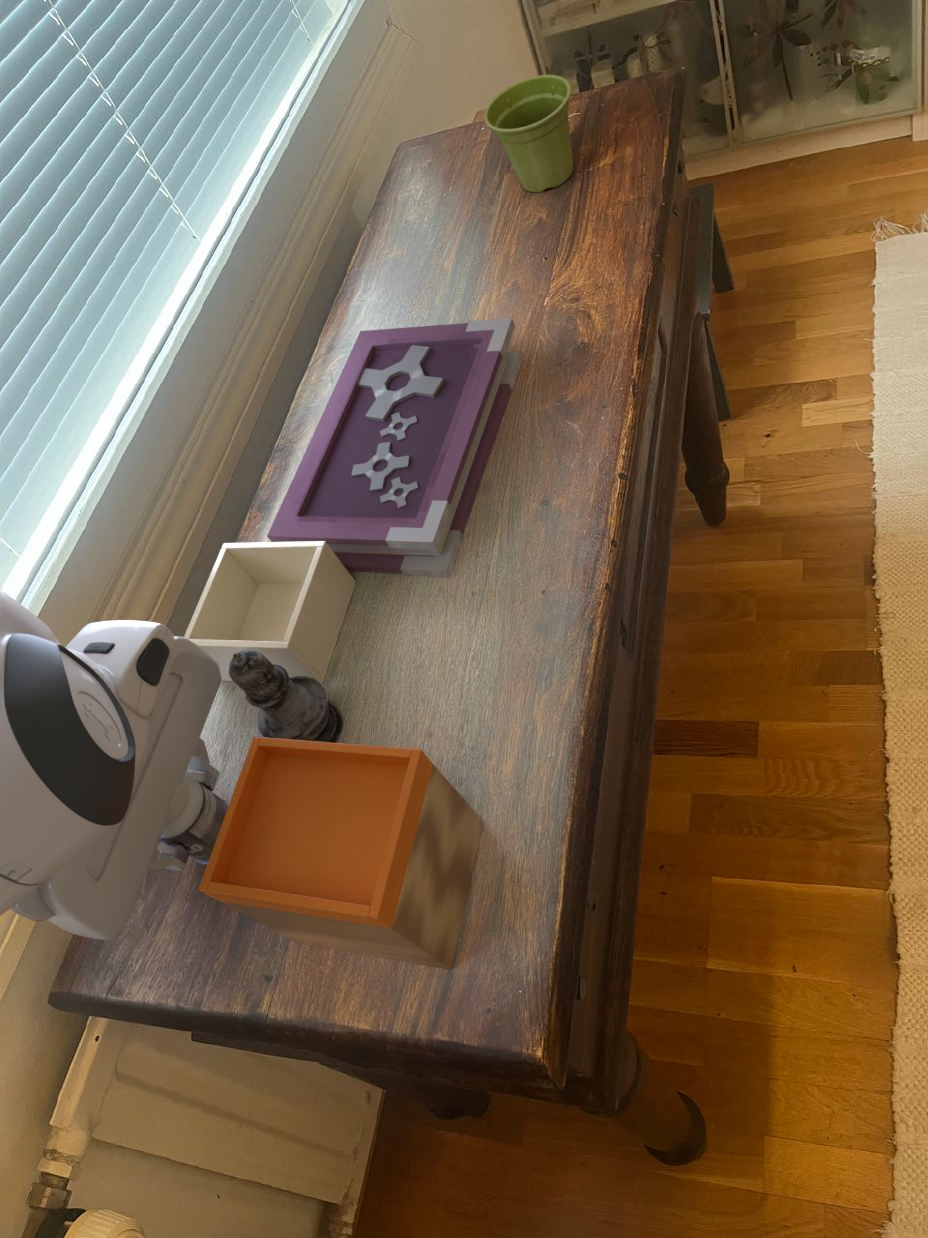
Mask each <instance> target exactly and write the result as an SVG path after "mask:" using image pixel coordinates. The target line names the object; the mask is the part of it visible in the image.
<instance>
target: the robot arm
mask: <svg viewBox="0 0 928 1238" xmlns="http://www.w3.org/2000/svg"><path fill="white" fill-rule="evenodd" d="M222 682H223V681H222V679H221V672H220V668H219V664H218V663H217V661H216V660H215V659H214V658H213V657H211V656H210V655H209V654H208V653H207V652H206V651H204V650H203V649H202V648H201V647H199V646H198V645H197V644H195V643H194V642H192V641H190V640H189V639H187V638H184V636H179V635H178V636H177V635H174V634H173V632H172V630H171V629H169V627H168V626H167V625H165V624H163V623H162V622H161V623H159V622H154V621H146V620H133V619H117V620H115V619H113V620H102V621H94V622H89V623H87V624H86V625H85V626H84V627H82V628H81V630H79V632H77V634H76V635H75V636H74V637H73V638H72V639H71V640H70V642H69V643H67V644H66V645H65V646H64V645H63V644H62V643H60V641H59V640H58V639H57V637H56V635H55V634H54V633H53V631H52V629H51V628H50V627H49V626H48V625H47V624H46V623H45V622H44V621H43V620H42V619H41V618H40V617H38V616H37V615H36V614H34V613H33V612H32V611H30V610H29V609H28V608H26V607H25V606H24V605H23V604H21V603H20V602H19V601H17V600H16V599H14V598H13V597H12V596H10V595H8V594H7V593H6V592H4V591H2V590H1V589H0V917H1V916H3V915H5V913H7V912H8V911H9V910H11V911H12V912H14V913H15V914H16V915H18V916H20V917H22V918H25V919H28V920H30V921H32V922H44V921H48V922H49V923H51V924H52V925H54V926H55V927H58V929H59V928H60V929H61V930H63V931H65V932H67V933H70V934H71V935H76V936H79V937H83V938H87V939H93V940H100V941H108V940H111V939H112V938H115V937H116V936H118V935H120V934H121V933H122V932H123V931H124V929H125V927H126V925H127V923H128V920H129V918H130V916H131V913H132V910H133V907H134V905H135V902H136V900H137V897H138V895H139V892H140V889H141V887H142V885H143V882H144V880H145V877H146V874H147V872H148V871H149V872H155V871H158V870H161V869H167V870H171V871H176V872H177V871H178V872H184V871H185V869H186V865H187V862H188V859H189V858H190V857H189V854H190V850H188V849H185V847H184V846H182V845H180V844H176V843H171V844H169V843H167V842H164V841H162V840H160V836H161V834H162V831H163V829H164V826H165V824H166V821H167V819H168V816H169V814H170V804H171V802H172V799H173V797H174V794H175V792H176V789H177V787H178V785H179V784H181V783H182V781H183V778H184V775H186V776H189V777H191V778H193V779H195V780H197V781H198V782H199V783H201V784H202V785H203V786H204V787H206V788H207V789H209V790H210V791H211V792H214V790H215V788H216V785H217V783H218V780H219V777H220V775H221V772H220V771H219V770H218V769H216V768H215V767H214V766H213V765H211V761H210V757H209V753H208V750H207V746H206V743H205V740H203V739H202V738H201V735H202V732H203V729H204V728H205V727H204V726H205V724H206V722H207V720H208V717H209V714H210V713H211V709H212V707H213V704H214V701H215V699H216V697H217V694H218V691H219V689H220V686H221V685H222Z"/></svg>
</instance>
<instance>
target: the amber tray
mask: <svg viewBox="0 0 928 1238" xmlns="http://www.w3.org/2000/svg"><path fill="white" fill-rule="evenodd" d="M433 764H434V762H433V761H432V760H431V759H430V758H429V757H428V756H427V755H426V753H424V751H423V750H422V749H419V748H407V747H394V746H379V745H368V744H367V745H366V744H357V743H356V744H355V743H354V744H352V743H343V742H342V743H341V742H336V743H330V742H317V741H303V740H290V739H277V738H264V737H263V736H253V737H252V740H251V743H250V745H249V748H248V750H247V753H246V756H245V759H244V762H243V764H242V767H241V770H240V773H239V776H238V778H237V782H236V784H235V786H234V789H233V792H232V796H231V798H230V801H229V803H228V804H229V806H228V809H227V812H226V815H225V817H224V820H223V823H222V826H221V828H220V831H219V834H218V837H217V840H216V842H215V845H214V848H213V851H212V854H211V856H210V859H209V862H208V864H206V867H205V870H204V873H203V876H202V879H201V881H200V884H199V887H198V891H200V892H201V893H203V894H205V895H207V896H208V897H210V898H212V899H214V900H216V901H218V900H219V901H218V902H220V901H225V902H231V903H237V904H244V905H250V906H256V907H262V908H268V909H274V910H281V911H287V912H293V913H299V914H305V915H311V916H317V917H324V918H330V919H336V920H342V921H348V922H354V923H361V924H367V925H373V926H379V927H385V928H392V925H393V921H394V917H395V914H396V910H397V906H398V902H399V898H400V894H401V890H402V886H403V882H404V878H405V874H406V870H407V866H408V862H409V858H410V854H411V850H412V846H413V842H414V838H415V834H416V830H417V826H418V822H419V818H420V814H421V810H422V807H423V803H424V799H425V795H426V791H427V787H428V783H429V779H430V775H431V771H432V767H433Z"/></svg>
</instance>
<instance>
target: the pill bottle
mask: <svg viewBox="0 0 928 1238" xmlns="http://www.w3.org/2000/svg"><path fill="white" fill-rule="evenodd" d="M228 806H229V803H228V802H227V801H225V800H224V799H223V798H221V797H219V796H218V795H216V794H215V793H214V791H210V790H209V789H207V788H206V787H204V786H203V785H202V784H201V783H199V782H198V781H197V780H195V779H193V778H191V777H189V776H186V774H185V775H184V778H183V781H182V783H181V784H179V785H178V787H177V789H176V792H175V794H174V797H173V799H172V802H171V804H170V814H169V816H168V819H167V821H166V824H165V826H164V829H163V831H162V834H161V836H160V839H159V841H161V842H167V843H169V844H171V843H176V844H180V845H182V846H184V847H185V849H188V850H190V854H189V857H188V858H190V859H192V860H193V861H195V862H196V863H199V864H203V865H208V862H209V859H210V856H211V854H212V851H213V848H214V845H215V842H216V840H217V837H218V834H219V831H220V828H221V826H222V823H223V820H224V817H225V815H226V812H227V809H228Z"/></svg>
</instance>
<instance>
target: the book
mask: <svg viewBox="0 0 928 1238" xmlns="http://www.w3.org/2000/svg"><path fill="white" fill-rule="evenodd" d="M515 327H516V325H515V322H514V319H513V317H505V318H493V319H492V318H491V319H478V320H469V321H468V322H464V323H463V322H462V323H461V322H460V323H449V324H437V325H424V326H423V325H422V326H408V327H396V328H395V327H394V328H384V329H383V328H382V329H381V328H380V329H371V330H370V329H369V330H360V331H359V333H358V335H357V337H356V340H355V342H354V344H353V346H352V349H351V351H350V353H349V355H348V357H347V359H346V362H345V363H344V367H343V368H342V370H341V373H340V375H339V377H338V379H337V381H336V384H335V386H334V387H333V390H332V392H331V394H330V397H329V398H328V401H327V403H326V406H325V407H324V410H323V411H322V413H321V416H320V419H319V420H318V423H317V425H316V427H315V430H314V432H313V433H312V436H311V438H310V441H309V443H308V445H307V447H306V449H305V451H304V453H303V456H302V458H301V460H300V463H299V464H298V467H297V469H296V471H295V474H294V476H293V477H292V480H291V482H290V484H289V487H288V489H287V491H286V493H285V495H284V497H283V499H282V502H281V504H280V506H279V508H278V511H277V513H276V515H275V517H274V519H273V522H272V523H271V526H270V527H269V530H268V532H267V535H266V537H267V539H269V540H270V541H269V542H299V541H326V542H327V544H328V545H329V547H330V548H331V549H332V551H333V552H334V553H335V555H336V556H337V557H338V559H339V560H340V561H341V563H342V564H343V565H344V567H345V568H346V569H347V571H348V572H364V573H383V574H386V573H387V574H403V576H414V577H431V578H432V577H434V578H451V575H452V572H453V569H454V566H455V563H456V560H457V558H458V554H459V552H460V548H461V545H462V543H463V539H464V533H465V532H464V531H465V530H466V526H467V524H468V520H469V517H470V515H471V513H472V508H473V506H474V503H475V500H476V497H477V494H478V491H479V487H480V484H481V482H482V479H483V476H484V472H485V470H486V467H487V464H488V462H489V458H490V455H491V453H492V449H493V446H494V443H495V440H496V438H497V434H498V431H499V428H500V425H501V422H502V420H503V416H504V413H505V410H506V408H507V405H508V402H509V399H510V396H511V393H512V392H513V390H514V387H515V384H516V382H517V378H518V375H519V374H520V373H519V372H520V370H521V368H522V364H523V362H524V358H523V356H522V352H521V351H511V352H510V351H507V350H508V348H509V345H510V342H511V339H512V336H513V333H514V330H515Z"/></svg>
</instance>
